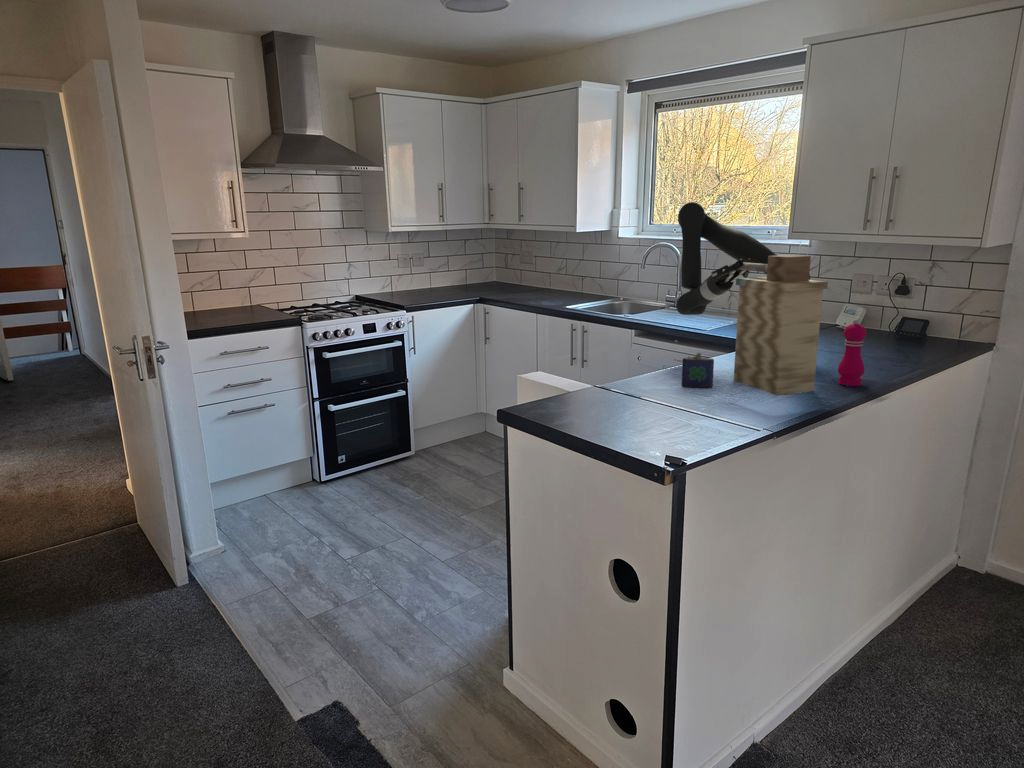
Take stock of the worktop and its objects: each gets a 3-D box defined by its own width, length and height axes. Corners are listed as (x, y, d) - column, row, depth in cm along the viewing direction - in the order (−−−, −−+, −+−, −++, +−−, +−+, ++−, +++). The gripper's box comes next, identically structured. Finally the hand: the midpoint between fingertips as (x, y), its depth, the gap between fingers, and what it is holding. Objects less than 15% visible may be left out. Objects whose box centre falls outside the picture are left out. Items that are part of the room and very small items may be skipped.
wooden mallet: (724, 275, 210) (725, 253, 208) (745, 274, 212) (746, 252, 210) (785, 282, 184) (787, 257, 182) (808, 281, 186) (810, 256, 185)
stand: (730, 380, 207) (736, 278, 200) (767, 375, 212) (774, 276, 204) (778, 396, 187) (786, 284, 179) (817, 391, 191) (827, 281, 183)
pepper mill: (830, 382, 201) (837, 318, 196) (848, 380, 204) (855, 316, 199) (850, 388, 194) (857, 321, 190) (868, 385, 197) (875, 319, 192)
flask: (712, 386, 200) (714, 352, 198) (713, 389, 197) (714, 354, 195) (681, 385, 202) (682, 351, 200) (681, 388, 199) (682, 353, 197)
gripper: (695, 276, 220) (724, 251, 204) (730, 274, 224) (761, 250, 208) (701, 296, 218) (730, 273, 202) (736, 294, 222) (768, 271, 206)
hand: (746, 261), depth 205 cm, fingers closed on wooden mallet, 2 cm apart
